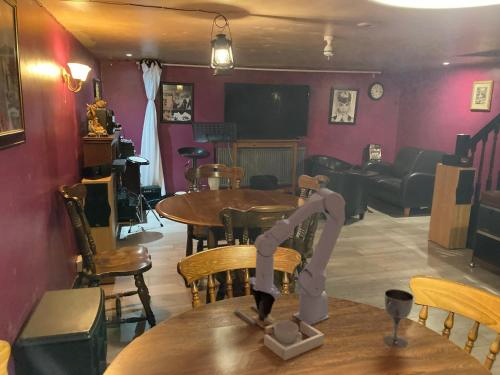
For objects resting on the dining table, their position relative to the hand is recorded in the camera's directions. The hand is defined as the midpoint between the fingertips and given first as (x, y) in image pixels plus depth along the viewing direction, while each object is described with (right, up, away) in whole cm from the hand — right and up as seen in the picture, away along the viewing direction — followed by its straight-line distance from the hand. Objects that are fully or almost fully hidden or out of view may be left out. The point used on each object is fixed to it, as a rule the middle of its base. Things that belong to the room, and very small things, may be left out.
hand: (263, 311), depth 131 cm
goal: (+9, -6, -11) cm, 15 cm away
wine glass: (+40, -6, -9) cm, 41 cm away
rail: (-3, -3, +5) cm, 7 cm away
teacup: (+6, -6, -9) cm, 13 cm away
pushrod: (+2, -4, -2) cm, 5 cm away
